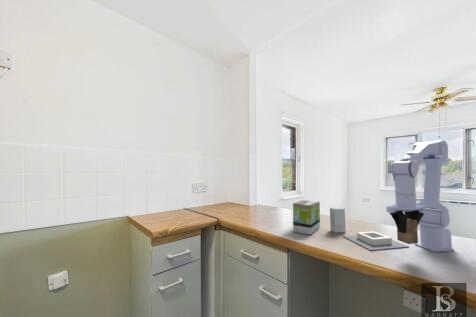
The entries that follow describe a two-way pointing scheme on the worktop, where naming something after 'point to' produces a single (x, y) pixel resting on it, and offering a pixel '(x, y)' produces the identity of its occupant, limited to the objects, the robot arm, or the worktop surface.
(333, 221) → the skincare box
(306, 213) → the tea box
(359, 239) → the socket board
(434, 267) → the worktop surface
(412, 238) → the walnut peg
